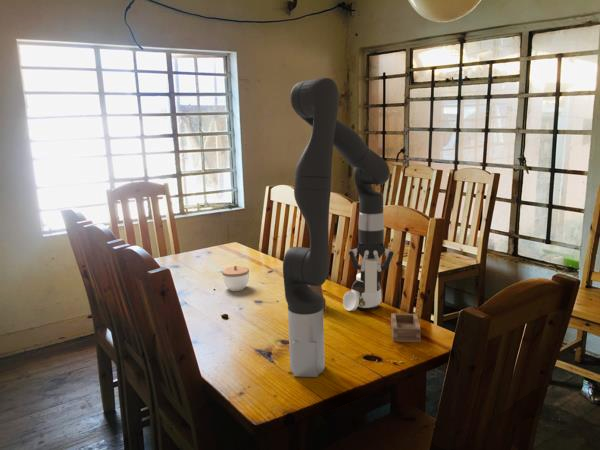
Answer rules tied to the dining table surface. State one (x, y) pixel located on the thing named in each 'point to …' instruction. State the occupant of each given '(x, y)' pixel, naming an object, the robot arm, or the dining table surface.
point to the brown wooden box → (405, 328)
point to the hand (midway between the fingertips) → (370, 282)
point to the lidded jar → (235, 277)
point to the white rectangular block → (371, 276)
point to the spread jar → (361, 297)
